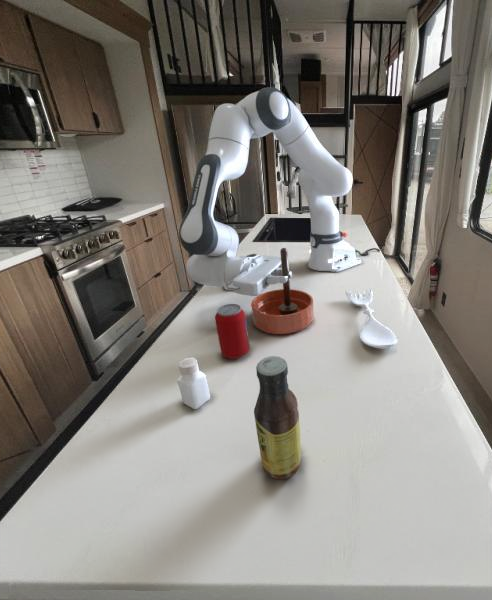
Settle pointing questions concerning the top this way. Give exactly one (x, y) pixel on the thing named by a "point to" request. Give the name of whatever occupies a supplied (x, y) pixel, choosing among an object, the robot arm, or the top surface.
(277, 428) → the sauce bottle
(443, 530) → the top surface
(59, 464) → the top surface
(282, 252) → the brown rod on stand
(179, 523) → the top surface
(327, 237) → the robot arm
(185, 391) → the pepper shaker
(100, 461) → the top surface
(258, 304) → the bowl
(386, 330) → the spoon
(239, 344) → the beverage can
